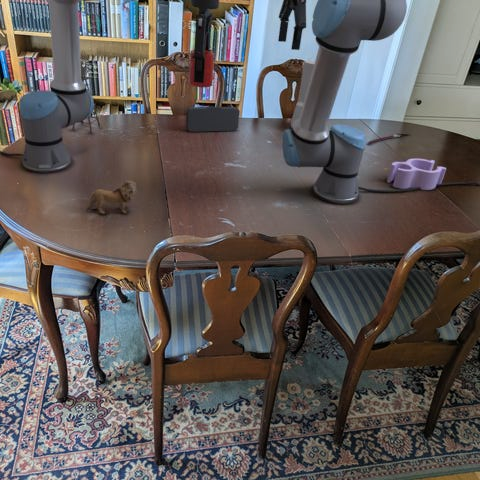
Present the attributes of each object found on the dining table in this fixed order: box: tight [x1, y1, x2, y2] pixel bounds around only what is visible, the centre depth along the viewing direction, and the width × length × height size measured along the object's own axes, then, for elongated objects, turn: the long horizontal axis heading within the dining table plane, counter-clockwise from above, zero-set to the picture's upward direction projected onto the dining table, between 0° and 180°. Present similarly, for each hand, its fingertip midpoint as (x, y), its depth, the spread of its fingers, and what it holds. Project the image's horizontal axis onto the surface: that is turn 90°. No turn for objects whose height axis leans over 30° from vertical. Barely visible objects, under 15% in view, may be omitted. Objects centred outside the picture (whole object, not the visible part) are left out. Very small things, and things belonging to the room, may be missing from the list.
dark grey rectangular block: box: [185, 106, 241, 133], centre depth 199 cm, size 23×3×10 cm, turn 108°
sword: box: [367, 133, 409, 145], centre depth 213 cm, size 31×3×1 cm, turn 126°
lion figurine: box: [85, 180, 137, 215], centre depth 135 cm, size 15×5×9 cm, turn 110°
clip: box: [386, 157, 447, 191], centre depth 173 cm, size 20×12×7 cm, turn 109°
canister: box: [188, 49, 215, 88], centre depth 136 cm, size 7×7×9 cm
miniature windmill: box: [71, 50, 102, 134], centre depth 182 cm, size 9×8×30 cm
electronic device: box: [290, 58, 316, 128], centre depth 206 cm, size 12×8×30 cm, turn 148°
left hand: (201, 78), depth 137 cm, fingers closed on canister, 7 cm apart
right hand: (288, 45), depth 164 cm, fingers open, 13 cm apart
